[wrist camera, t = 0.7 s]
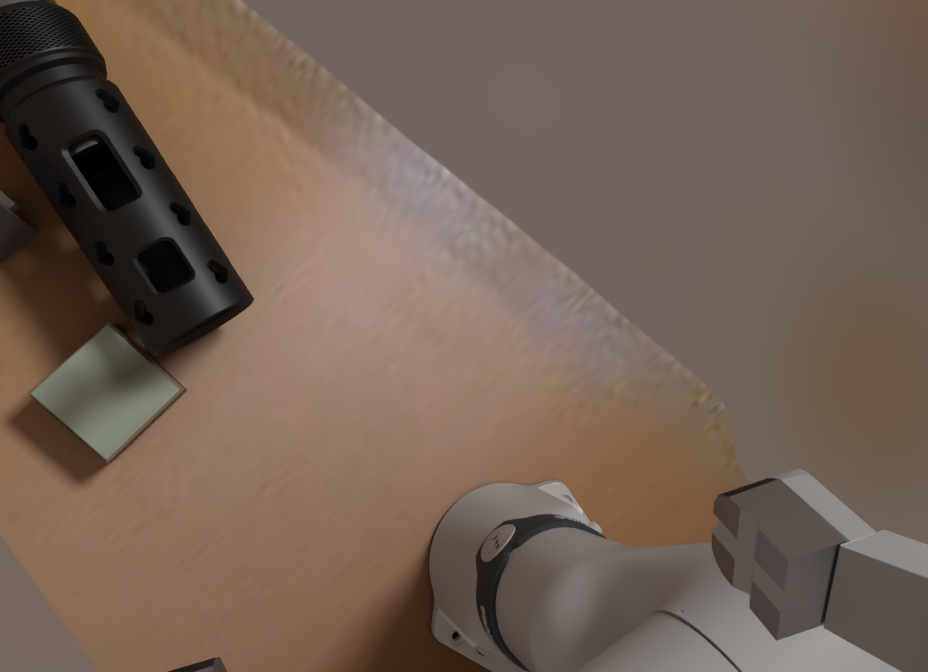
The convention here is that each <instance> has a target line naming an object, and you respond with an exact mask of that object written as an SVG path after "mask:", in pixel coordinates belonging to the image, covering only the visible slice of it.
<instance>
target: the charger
mask: <svg viewBox="0 0 928 672" xmlns="http://www.w3.org/2000/svg"><path fill="white" fill-rule="evenodd" d="M19 208H20V207H19V206H18V205H17V204H15V203H14V202H13V201H12V200H11V199H10V198H9V197H8V196H7V195H6V194H5V193H3V192H2V191H1V190H0V263H1V262H2V261H3V260H4V259H6V258H7V257H8V256H9V255H10V254H12V253H13V252H14V251H15V250H17V249H18V248H19V247H20V246H21V245H23V244H24V243H25V242H26V241H27V240H29V239H30V238H31V237H32V236H34V235H35V234H36V233H37V231H36V230H35V229H34V228H33V227H32V226H31V225H29V224H28V223H27V222H26V221H25V220H24V219H23V218H22V217H21V216H20V215H19V214H17V213H16V212H15V211H17V210H18V209H19Z"/></svg>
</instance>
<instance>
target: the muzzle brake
mask: <svg viewBox="0 0 928 672" xmlns="http://www.w3.org/2000/svg"><path fill="white" fill-rule="evenodd" d="M106 78H107V70H106V64H105V60H104V58H103V56H102V55H101V53H100V52H99V50H98V49H97V47H96V46H95V44H94V42H93V41H92V39H91V38H90V36H89V35H88V33H87V32H86V30H85V28H84V27H83V25H82V24H81V22H80V21H79V19H78V18H77V17H76V16H75V15H74V14H73V13H71V12H70V11H69V10H67V9H65V8H63V7H61V6H59V5H57V3H56V2H55V0H0V122H3V123H5V134H6V136H7V138H8V139H9V141H10V142H11V144H12V145H13V147H14V148H15V150H16V151H17V153H18V154H19V156H20V157H21V159H22V160H23V162H24V163H25V165H26V166H27V168H28V169H29V171H30V172H31V174H32V175H33V177H34V178H35V180H36V181H37V183H38V184H39V186H40V187H41V189H42V190H43V192H44V193H45V195H46V196H47V198H48V199H49V201H50V202H51V204H52V205H53V207H54V208H55V210H56V211H57V213H58V214H59V216H60V217H61V219H62V220H63V222H64V223H65V225H66V227H67V228H68V230H69V231H70V233H71V234H72V236H73V237H74V239H75V240H76V242H77V243H78V245H79V246H80V248H81V249H82V251H83V252H84V254H85V255H86V257H87V258H88V259H89V261H90V262H91V264H92V265H93V267H94V269H95V270H96V271H97V273H98V274H99V276H100V278H101V279H102V281H103V282H104V284H105V285H106V287H107V288H108V290H109V291H110V293H111V294H112V296H113V297H114V299H115V300H116V302H117V303H118V305H119V306H120V308H121V309H122V311H123V312H124V314H125V315H126V317H127V318H128V320H129V321H130V323H131V324H132V326H133V327H134V329H135V330H136V332H137V333H138V335H139V336H140V338H141V339H142V341H143V342H144V344H145V346H146V347H147V349H148V350H149V352H150V353H151V355H152V356H153V357H159V356H163V355H166V354H168V353H170V352H173V351H175V350H177V349H179V348H181V347H183V346H185V345H187V344H189V343H191V342H193V341H195V340H197V339H199V338H200V337H202V336H204V335H206V334H207V333H209V332H211V331H213V330H214V329H216V328H218V327H219V326H221V325H223V324H224V323H226V322H227V321H229V320H231V319H232V318H234V317H235V316H237V315H238V314H239V313H241V312H242V311H244V310H245V309H246V308H247V307H249V306H250V305H251V304H252V302H253V300H254V298H253V297H252V295H251V293H250V292H249V290H248V289H247V287H246V286H245V284H244V283H243V281H242V280H241V278H240V277H239V275H238V274H237V272H236V271H235V269H234V267H233V266H232V264H231V263H230V261H229V259H228V258H227V256H226V255H225V253H224V251H223V250H222V248H221V247H220V245H219V244H218V242H217V241H216V239H215V237H214V236H213V234H212V233H211V231H210V230H209V228H208V227H207V225H206V224H205V222H204V221H203V219H202V218H201V216H200V215H199V213H198V212H197V210H196V209H195V207H194V205H193V203H192V202H191V200H190V199H189V197H188V195H187V194H186V192H185V191H184V189H183V188H182V186H181V185H180V183H179V181H178V180H177V178H176V177H175V175H174V174H173V172H172V171H171V170H170V168H169V167H168V165H167V163H166V162H165V160H164V159H163V157H162V156H161V154H160V152H159V150H158V149H157V147H156V146H155V144H154V143H153V141H152V140H151V138H150V136H149V135H148V133H147V132H146V130H145V129H144V127H143V126H142V124H141V122H140V121H139V120H138V118H137V117H136V115H135V114H134V112H133V111H132V109H131V107H130V106H129V104H128V103H127V101H126V99H125V98H124V96H123V94H122V93H121V91H120V90H119V88H118V87H117V86H116V85H115V84H114V83H112V82H111V81H109V80H107V79H106Z"/></svg>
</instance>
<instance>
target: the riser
mask: <svg viewBox="0 0 928 672" xmlns="http://www.w3.org/2000/svg"><path fill="white" fill-rule="evenodd" d="M186 391H187V389H186V388H185V387H184V386H183V385H182V384H180V383H179V382H178V381H177V380H176V379H175V378H174V377H173V376H172V375H171V374H169V373H168V372H167V371H166V370H165V369H164V368H163V367H162V366H161V365H160V364H159V363H157V362H156V361H155V360H154V359H153V358H152V357H151V356H150V355H149V354H148V353H146V352H145V351H144V350H143V349H142V348H141V347H140V346H139V345H138V344H137V343H135V342H134V341H133V340H132V339H131V338H130V337H129V336H128V335H127V334H126V333H124V332H123V331H122V330H121V329H120V328H119V327H118V326H117V325H115V324H113V323H111V322H108V323H107V324H106V325H104V326H103V327H102V328H101V329H100V330H99V331H98V332H97V333H96V334H94V335H93V336H92V337H91V338H90V339H89V340H88V341H87V342H85V343H84V344H83V345H82V346H81V347H80V348H79V349H78V350H76V351H75V352H74V353H73V354H72V355H71V356H70V357H69V358H67V359H66V360H65V361H64V362H63V363H62V364H61V365H60V366H58V367H57V368H56V369H55V370H54V371H53V372H52V373H51V374H50V375H48V376H47V377H46V378H45V379H44V380H43V381H42V382H41V383H39V384H38V385H37V386H36V387H35V388H34V389H33V390H32V391H30V392H29V393H28V394H29V395H30V396H31V397H32V398H33V399H34V400H36V401H37V402H38V403H39V404H40V405H41V406H43V407H44V408H45V409H46V410H47V411H48V412H49V413H51V414H52V415H53V416H54V417H55V418H56V419H57V420H59V421H60V422H61V423H62V424H63V425H64V426H66V427H67V428H68V429H69V430H70V431H71V432H72V433H74V434H75V435H76V436H77V437H78V438H79V439H80V440H82V441H83V442H84V443H85V444H86V445H87V446H89V447H90V448H91V449H92V450H93V451H94V452H95V453H97V454H98V455H99V456H100V457H101V458H102V459H103V460H105V461H106V462H107V463H109V462H111V461H113V460H115V459H116V458H117V457H118V456H119V455H120V454H121V453H122V452H123V451H124V450H125V449H126V448H127V447H128V446H130V445H131V444H132V443H133V442H134V441H135V440H136V439H137V438H138V437H139V436H140V435H141V434H142V433H143V432H144V431H145V430H146V429H147V428H148V427H149V426H150V425H151V424H152V423H154V422H155V421H156V420H157V419H158V418H159V417H160V416H161V415H162V414H163V413H164V412H165V411H166V410H167V409H168V408H169V407H170V406H171V405H172V404H173V403H174V402H175V401H176V400H178V399H179V398H180V397H181V396H182V395H183V394H184V393H185V392H186Z"/></svg>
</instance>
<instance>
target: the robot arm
mask: <svg viewBox="0 0 928 672" xmlns="http://www.w3.org/2000/svg"><path fill="white" fill-rule="evenodd" d="M713 513H714V514H715V515H716V516H717V517H718V518H719V520H720V521H719V523H718V524H717V526H716V527H715V528H714V530H713V531H712V542H702V543H693V544H682V545H669V546H655V547H629V546H626V545H622V544H619V543H616V542H613V541H610V540H608V539H606V538H605V537H604V536H603V535H602V530H601V528H600V527H599V526H598V525H597V524H596V523H595V522H593V521H592V522H590V521H589V520H588V518H587V517H586V515H585V514H584V512H583V510H582V509H581V508H580V506H579V505H578V503H577V502H576V500H575V499H574V497H573V496H572V494H571V493H570V491H569V490H568V488H567V487H566V486H565V485H564V484H563V483H561V482H559V481H557V480H550V481H545V482H542V483H538V484H535V485H530V486H527V485H519V484H512V483H497V484H490V485H487V486H483V487H480V488H478V489H476V490H474V491H472V492H470V493H468V494H467V495H465V496H464V497H462V498H461V499H460V500H459V501H457V502H456V503H455V504H454V505H453V506H452V507H451V508H450V510H449V511H448V512H447V513H446V515H445V516H444V518H443V519H442V521H441V522H440V524H439V526H438V528H437V530H436V533H435V535H434V538H433V542H432V545H431V550H430V558H429V571H430V579H431V584H432V589H433V593H434V602H435V603H434V609H433V615H432V622H431V631H432V634H433V636H434V637H435V638H436V639H437V640H438V641H439V642H441V643H442V644H444V645H446V646H448V647H449V648H451V649H453V650H455V651H456V652H458V653H460V654H462V655H464V656H465V657H467V658H469V659H471V660H472V661H474V662H476V663H478V664H479V665H481V666H483V667H485V668H486V669H488V670H490V671H492V672H928V545H927V544H924V543H921V542H918V541H915V540H912V539H909V538H906V537H904V536H901V535H898V534H895V533H892V532H889V531H887V530H881V531H878V532H875V531H874V530H873V529H872V528H871V527H870V526H868V525H867V524H866V523H865V522H864V521H863V520H862V519H861V518H859V517H858V516H857V515H856V514H855V513H854V512H852V511H851V510H850V509H849V508H848V507H847V506H845V505H844V504H843V503H842V502H841V501H840V500H838V499H837V498H836V497H835V496H834V495H833V494H832V493H830V492H829V491H828V490H827V489H826V488H825V487H823V486H822V485H821V484H820V483H819V482H818V481H817V480H815V479H814V478H813V477H812V476H811V475H810V474H808V473H807V472H806V471H803V470H800V469H796V470H793V471H790V472H787V473H784V474H781V475H777V476H774V477H772V478H767V479H764V480H761V481H758V482H755V483H752V484H749V485H746V486H743V487H740V488H737V489H734V490H731V491H728V492H725V493H722V494H719V495H718V497H717V498H716V500H715V501H714V511H713ZM455 631H457V632H458V633H459V635H458V636H457V637H456V638H452V634H453V633H454V632H455ZM168 672H227V670H226V668H225V666H224V665H223V663H222V661H221V659H220V657H217V658H212V659H209V660H206V661H202V662H199V663H195V664H192V665H189V666H185V667H182V668H179V669H175V670H172V671H168Z"/></svg>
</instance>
